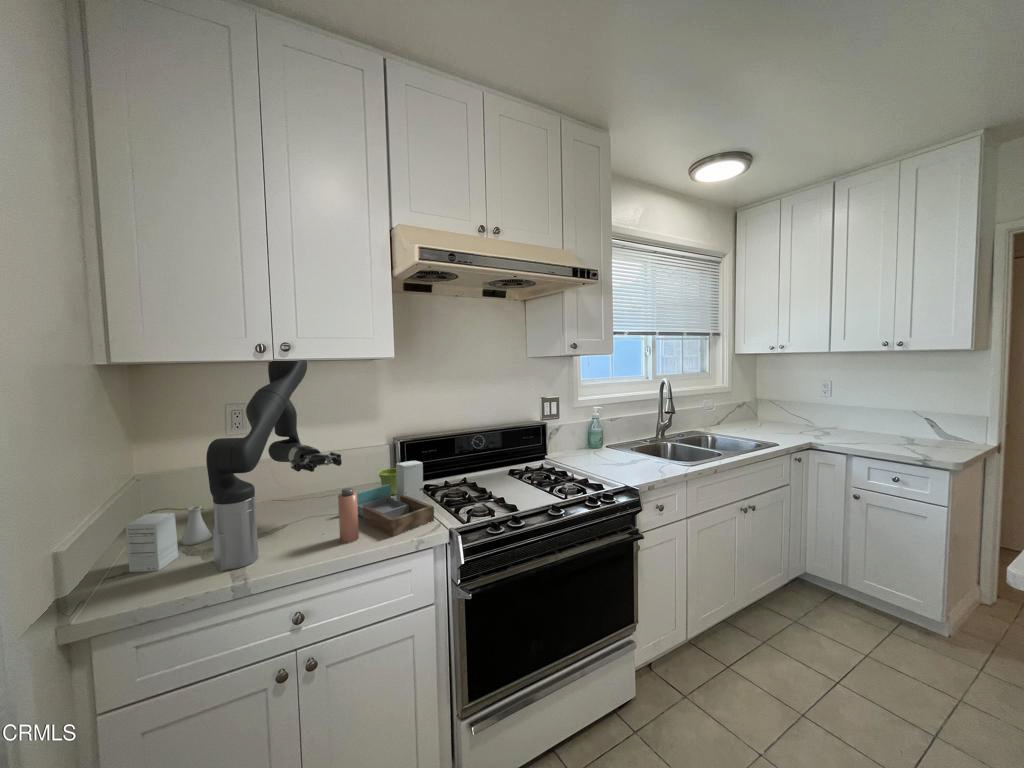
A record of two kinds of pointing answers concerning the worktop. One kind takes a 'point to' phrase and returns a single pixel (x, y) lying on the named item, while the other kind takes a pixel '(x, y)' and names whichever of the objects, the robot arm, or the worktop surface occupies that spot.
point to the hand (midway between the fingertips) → (326, 465)
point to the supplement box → (151, 542)
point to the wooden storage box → (395, 526)
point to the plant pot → (389, 478)
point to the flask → (195, 528)
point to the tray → (381, 502)
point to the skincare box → (409, 480)
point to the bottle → (348, 515)
